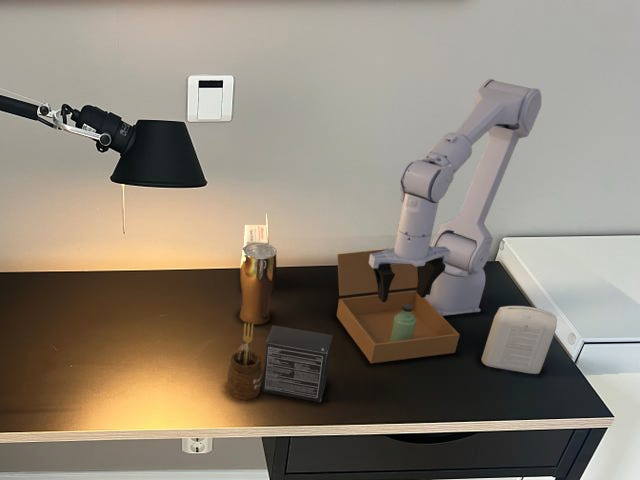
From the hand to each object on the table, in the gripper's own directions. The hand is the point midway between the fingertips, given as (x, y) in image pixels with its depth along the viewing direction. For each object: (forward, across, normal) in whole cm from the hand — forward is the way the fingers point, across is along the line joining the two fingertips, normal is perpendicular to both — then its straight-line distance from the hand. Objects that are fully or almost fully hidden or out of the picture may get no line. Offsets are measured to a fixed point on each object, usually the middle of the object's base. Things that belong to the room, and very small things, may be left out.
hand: (401, 297), depth 139 cm
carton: (+10, +1, +2) cm, 10 cm away
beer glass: (+10, -24, +14) cm, 29 cm away
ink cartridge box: (+10, -20, +28) cm, 36 cm away
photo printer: (+10, +18, -12) cm, 24 cm away
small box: (+10, -23, -10) cm, 27 cm away
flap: (+1, +1, +12) cm, 12 cm away
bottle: (+10, +1, -1) cm, 10 cm away
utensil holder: (+10, -32, -9) cm, 35 cm away
